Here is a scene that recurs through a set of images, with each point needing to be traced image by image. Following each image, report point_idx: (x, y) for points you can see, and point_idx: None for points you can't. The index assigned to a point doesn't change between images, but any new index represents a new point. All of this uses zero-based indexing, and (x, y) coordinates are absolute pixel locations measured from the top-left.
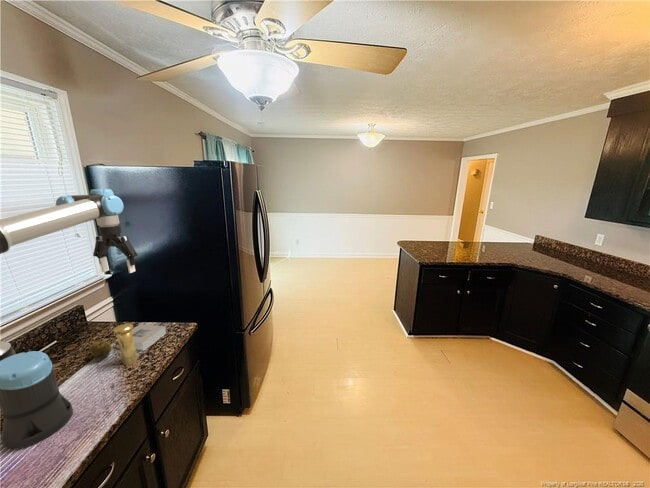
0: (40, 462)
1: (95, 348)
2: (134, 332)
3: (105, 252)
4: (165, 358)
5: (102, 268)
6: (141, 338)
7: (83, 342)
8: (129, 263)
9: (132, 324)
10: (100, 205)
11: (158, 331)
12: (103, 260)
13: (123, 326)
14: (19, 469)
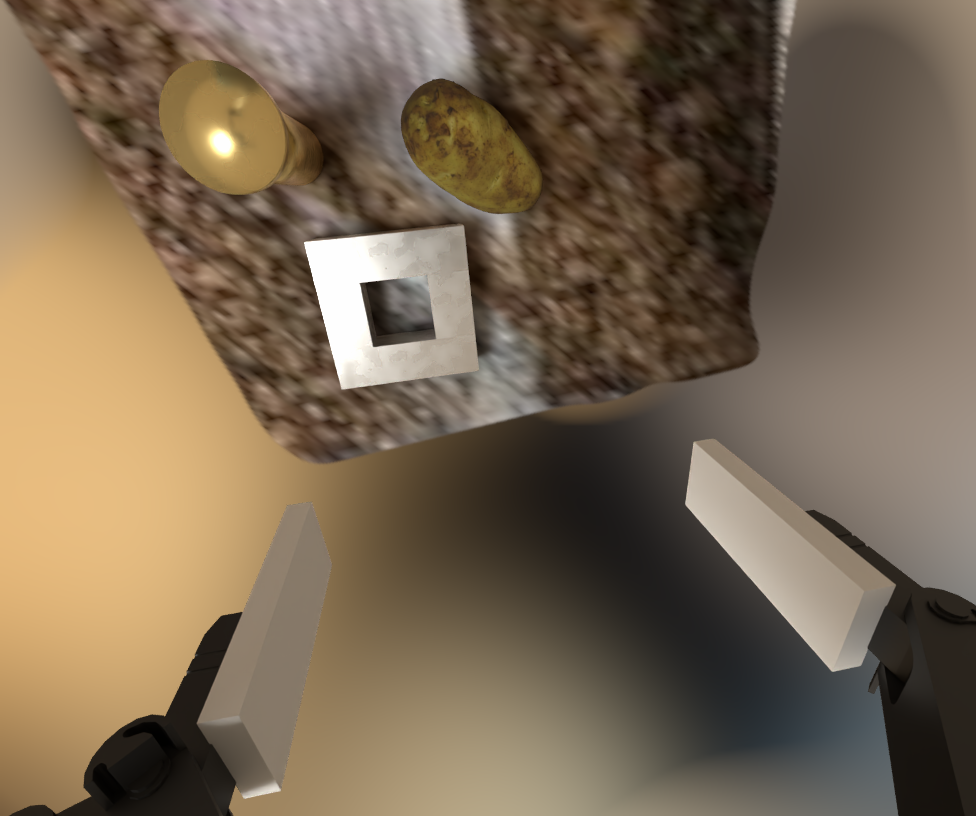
0: None
1: (432, 89)
2: (438, 309)
3: (902, 769)
4: (143, 211)
5: (735, 468)
6: (349, 274)
7: (655, 226)
8: (243, 638)
9: (201, 182)
10: None
11: (332, 348)
12: (807, 580)
13: (235, 142)
14: None
